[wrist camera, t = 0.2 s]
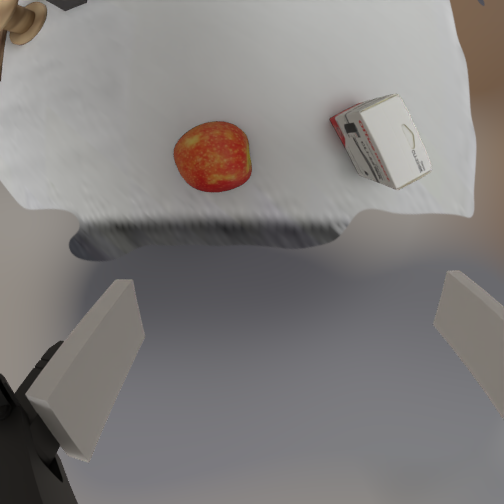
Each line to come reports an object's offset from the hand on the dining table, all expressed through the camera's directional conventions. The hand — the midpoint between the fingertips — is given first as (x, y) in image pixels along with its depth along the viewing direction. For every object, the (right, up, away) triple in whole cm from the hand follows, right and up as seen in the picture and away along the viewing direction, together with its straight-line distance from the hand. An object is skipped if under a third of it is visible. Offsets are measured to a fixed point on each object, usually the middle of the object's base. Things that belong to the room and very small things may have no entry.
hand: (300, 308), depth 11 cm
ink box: (+12, +17, +24) cm, 31 cm away
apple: (-6, +14, +25) cm, 29 cm away
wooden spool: (-38, +39, +15) cm, 57 cm away
